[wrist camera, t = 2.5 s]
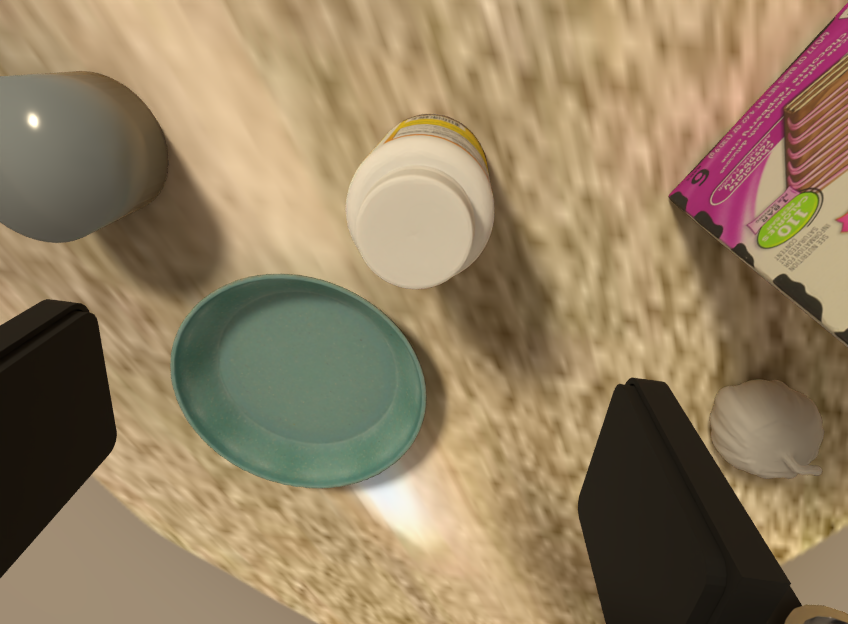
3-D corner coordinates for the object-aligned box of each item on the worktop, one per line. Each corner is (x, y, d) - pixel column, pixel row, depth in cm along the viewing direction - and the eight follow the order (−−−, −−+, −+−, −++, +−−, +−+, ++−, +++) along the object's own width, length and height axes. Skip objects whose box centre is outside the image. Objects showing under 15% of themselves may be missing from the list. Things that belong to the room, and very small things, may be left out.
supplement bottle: (413, 243, 28) (387, 336, 19) (355, 150, 27) (295, 205, 17) (507, 190, 27) (528, 266, 18) (452, 88, 25) (443, 113, 16)
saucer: (245, 474, 37) (230, 503, 35) (149, 283, 31) (123, 303, 29) (452, 444, 35) (451, 474, 32) (393, 231, 29) (386, 248, 26)
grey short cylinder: (161, 80, 26) (97, 88, 21) (175, 220, 29) (121, 252, 25) (19, 62, 26) (-74, 65, 21) (48, 203, 29) (-28, 231, 25)
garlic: (817, 409, 31) (878, 472, 27) (733, 457, 33) (776, 524, 29) (760, 344, 30) (814, 399, 25) (675, 398, 32) (711, 459, 27)
